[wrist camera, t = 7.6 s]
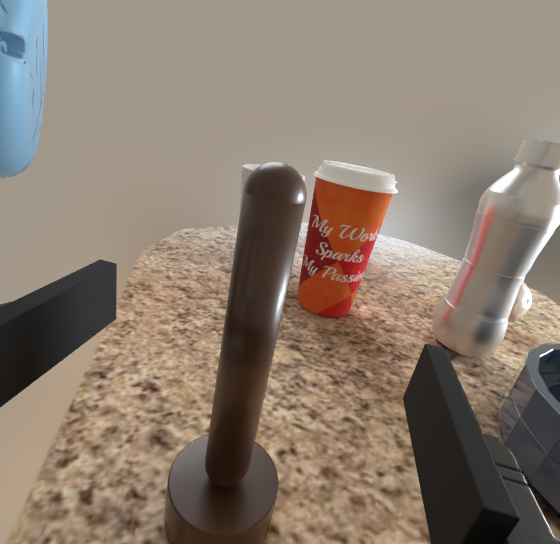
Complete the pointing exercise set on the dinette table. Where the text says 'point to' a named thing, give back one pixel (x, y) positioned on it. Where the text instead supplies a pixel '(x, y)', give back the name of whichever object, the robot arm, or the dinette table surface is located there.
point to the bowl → (535, 419)
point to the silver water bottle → (501, 251)
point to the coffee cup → (341, 234)
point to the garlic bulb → (520, 303)
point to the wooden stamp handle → (241, 377)
